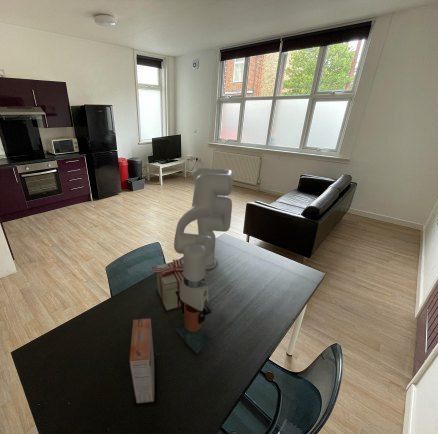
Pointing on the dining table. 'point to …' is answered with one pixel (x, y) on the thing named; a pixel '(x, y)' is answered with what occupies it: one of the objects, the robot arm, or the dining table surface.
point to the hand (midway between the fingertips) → (192, 316)
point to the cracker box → (142, 360)
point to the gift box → (169, 282)
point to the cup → (191, 318)
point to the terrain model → (194, 338)
